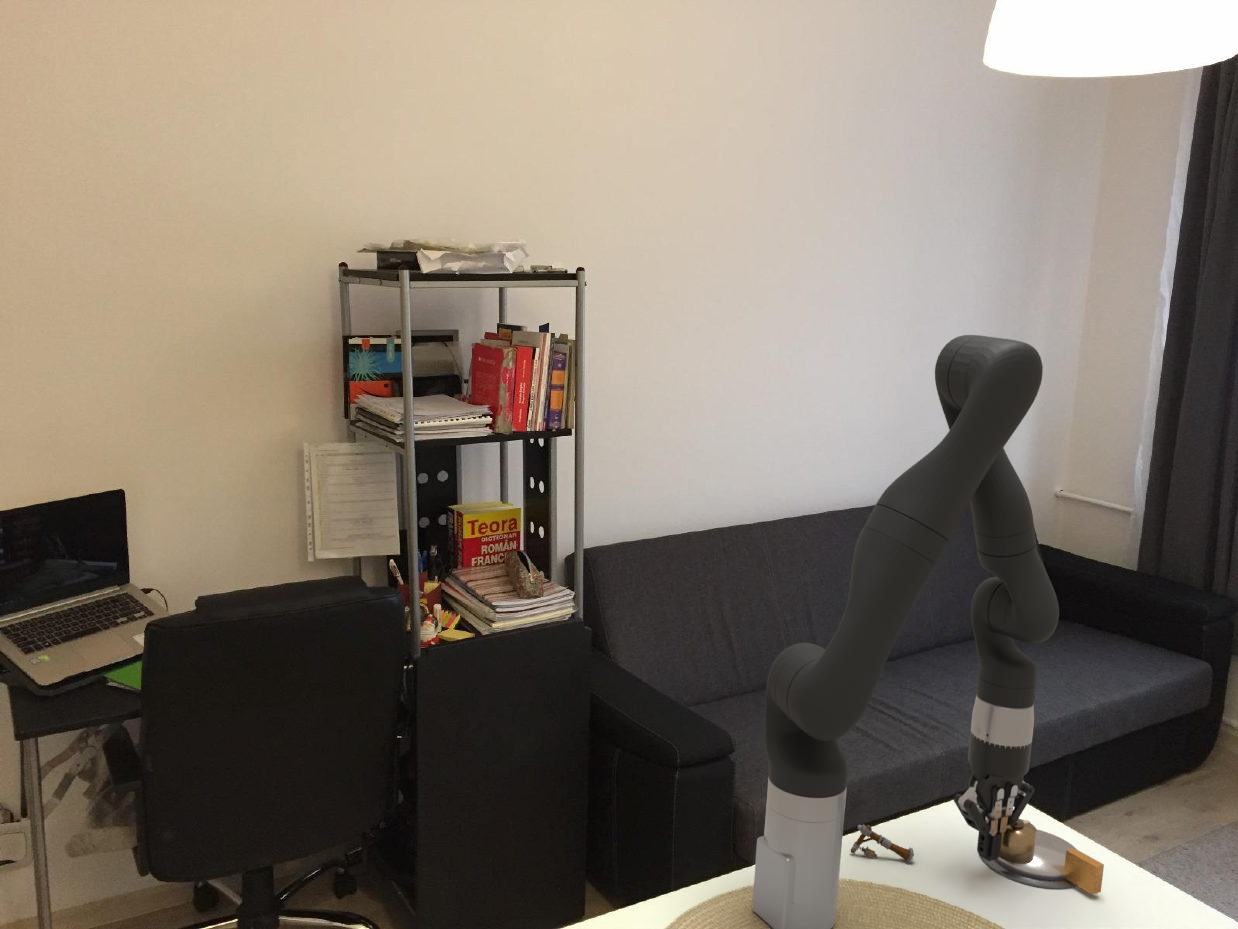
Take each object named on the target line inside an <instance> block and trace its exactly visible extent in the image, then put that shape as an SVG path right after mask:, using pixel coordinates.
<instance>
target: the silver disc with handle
mask: <svg viewBox="0 0 1238 929" xmlns="http://www.w3.org/2000/svg"><path fill="white" fill-rule="evenodd" d="M1036 830H1037V831H1036V840H1035V849H1034V858H1033V861H1032V862H1030V863H1027V864H1017V863H1012V862H1008V861H1006V860H1003V859H1001V858H1000V857H999V858H998V859H995V861H996V862H997V863H999V864H1000V865H1002V866H1003V867H1005V868H1007V869H1009V870H1011V871H1014V872H1016V873H1019V874H1022V875H1025V876H1028V877H1033V878H1037V879H1044V880H1063V879H1067V880H1069V881H1070V882H1072V883H1074V884H1075V885H1077V887H1079V888H1081V889H1083V890H1084V891H1086V892H1088V893H1089V894H1091V895H1096V894H1101V892H1102V884H1103V877H1104V868H1105V864H1103V863H1102V862H1101V861H1098V860H1096V859H1095V858H1093V857H1091V856H1090V855H1087V854H1086V853H1084V852H1082V851H1080V850H1079V849H1077V848H1076V847H1075V846H1074V845H1073V844H1072V843H1070V842H1068V841H1067V840H1065V839H1064V838H1061V837H1059V836H1058V835H1056V834H1053V833H1051V832H1046V831H1045V830H1041V829H1040V830H1039V829H1037V828H1036Z"/></svg>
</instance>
